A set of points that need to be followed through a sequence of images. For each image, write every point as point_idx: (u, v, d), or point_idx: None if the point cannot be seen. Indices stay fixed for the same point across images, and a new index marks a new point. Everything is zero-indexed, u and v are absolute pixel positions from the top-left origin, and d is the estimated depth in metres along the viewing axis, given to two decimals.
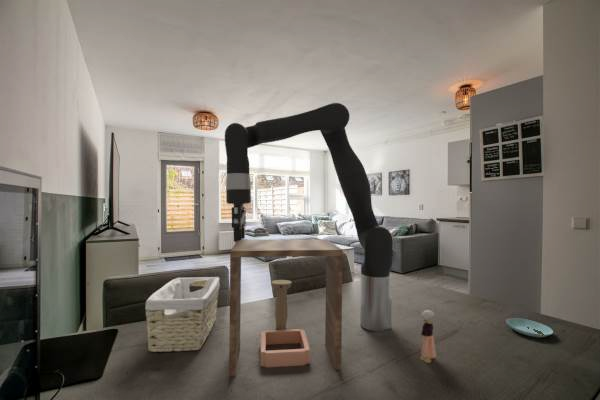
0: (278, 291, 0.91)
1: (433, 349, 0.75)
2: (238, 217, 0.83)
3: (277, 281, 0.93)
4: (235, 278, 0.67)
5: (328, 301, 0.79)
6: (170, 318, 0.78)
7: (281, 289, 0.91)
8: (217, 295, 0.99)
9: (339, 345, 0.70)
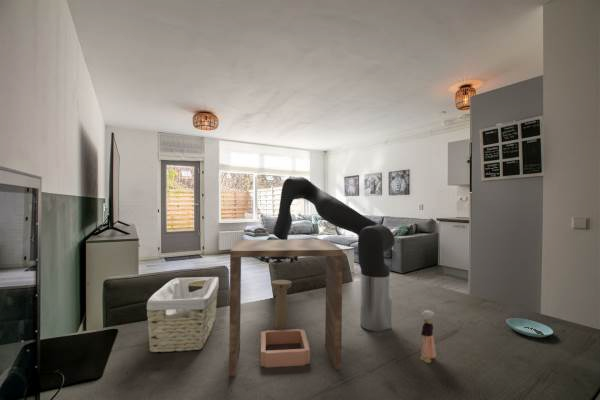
0: (278, 291, 0.91)
1: (433, 349, 0.75)
2: None
3: (277, 281, 0.93)
4: (235, 278, 0.67)
5: (328, 301, 0.79)
6: (171, 318, 0.78)
7: (281, 289, 0.91)
8: (216, 295, 0.99)
9: (339, 345, 0.70)
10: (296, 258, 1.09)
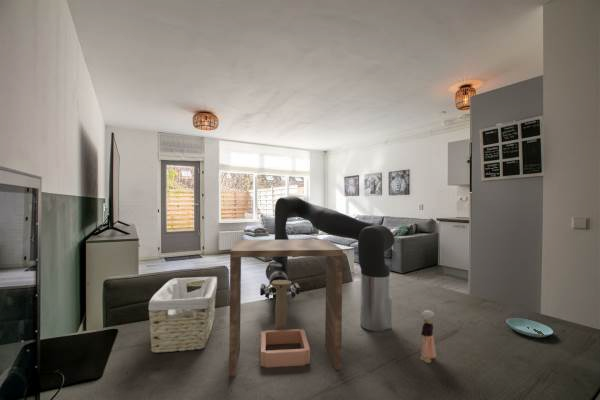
0: (278, 291, 0.91)
1: (433, 349, 0.75)
2: None
3: (277, 281, 0.93)
4: (235, 278, 0.67)
5: (328, 301, 0.79)
6: (174, 318, 0.78)
7: (281, 289, 0.91)
8: None
9: (339, 345, 0.70)
10: (298, 291, 1.04)
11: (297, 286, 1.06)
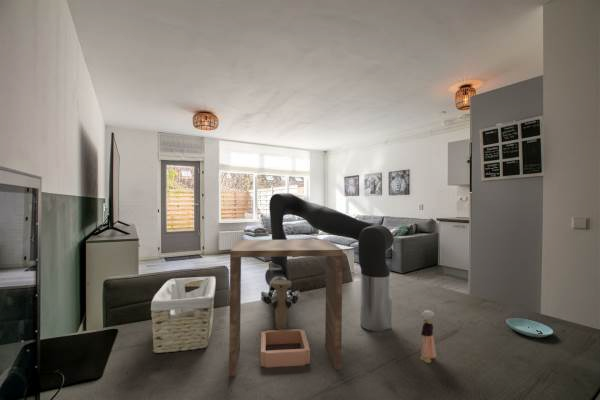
0: (278, 291, 0.91)
1: (433, 349, 0.75)
2: (263, 296, 0.96)
3: (277, 281, 0.93)
4: (235, 278, 0.67)
5: (328, 301, 0.79)
6: (176, 318, 0.78)
7: (281, 289, 0.91)
8: None
9: (339, 345, 0.70)
10: (293, 300, 0.95)
11: (294, 294, 0.96)
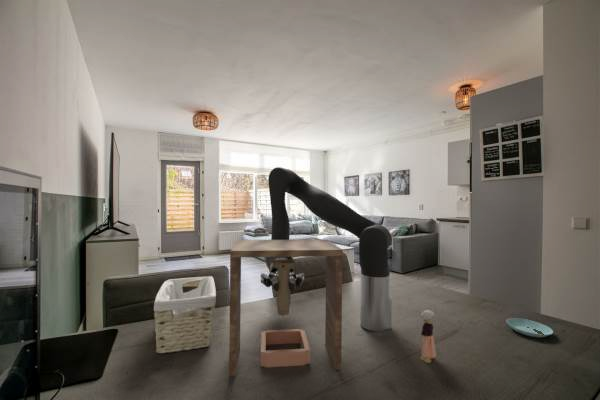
0: (280, 271, 0.80)
1: (433, 349, 0.75)
2: (263, 277, 0.85)
3: (279, 260, 0.82)
4: (235, 278, 0.67)
5: (328, 301, 0.79)
6: (179, 318, 0.78)
7: (283, 269, 0.79)
8: None
9: (339, 345, 0.70)
10: (297, 283, 0.83)
11: (299, 276, 0.85)
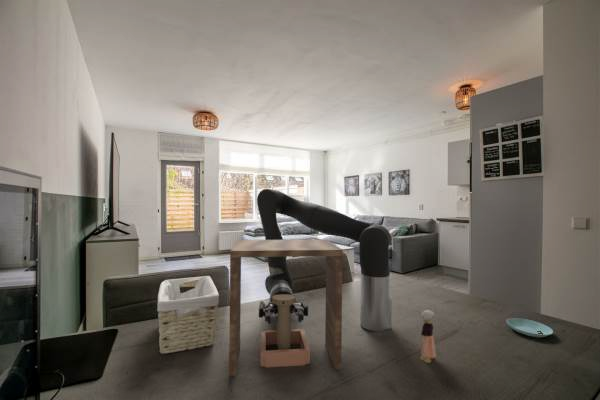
0: (280, 308, 0.77)
1: (433, 349, 0.75)
2: (259, 306, 0.82)
3: (279, 296, 0.79)
4: (235, 278, 0.67)
5: (328, 301, 0.79)
6: (183, 317, 0.78)
7: (283, 306, 0.76)
8: None
9: (339, 345, 0.70)
10: (306, 312, 0.81)
11: (305, 305, 0.83)
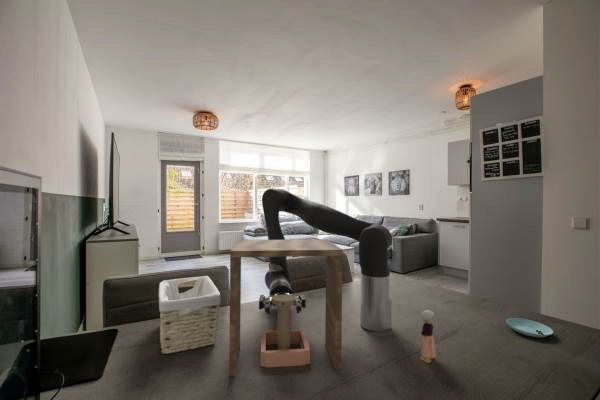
0: (280, 309, 0.77)
1: (433, 349, 0.75)
2: None
3: (279, 297, 0.78)
4: (235, 278, 0.67)
5: (328, 301, 0.79)
6: (185, 317, 0.78)
7: (283, 307, 0.76)
8: None
9: (339, 345, 0.70)
10: (304, 305, 0.87)
11: (303, 298, 0.89)
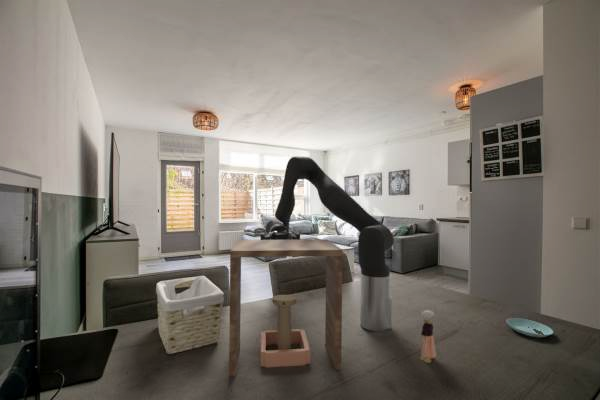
0: (280, 309, 0.77)
1: (433, 349, 0.75)
2: (261, 234, 1.04)
3: (279, 296, 0.79)
4: (235, 278, 0.67)
5: (328, 301, 0.79)
6: (189, 316, 0.79)
7: (284, 306, 0.76)
8: None
9: (339, 345, 0.70)
10: (298, 238, 1.03)
11: (298, 233, 1.05)
